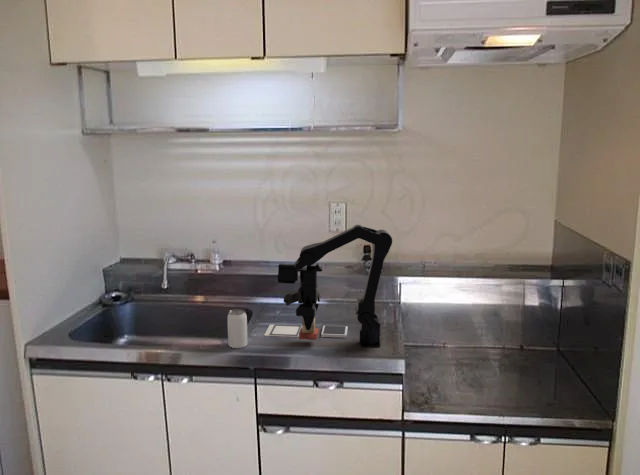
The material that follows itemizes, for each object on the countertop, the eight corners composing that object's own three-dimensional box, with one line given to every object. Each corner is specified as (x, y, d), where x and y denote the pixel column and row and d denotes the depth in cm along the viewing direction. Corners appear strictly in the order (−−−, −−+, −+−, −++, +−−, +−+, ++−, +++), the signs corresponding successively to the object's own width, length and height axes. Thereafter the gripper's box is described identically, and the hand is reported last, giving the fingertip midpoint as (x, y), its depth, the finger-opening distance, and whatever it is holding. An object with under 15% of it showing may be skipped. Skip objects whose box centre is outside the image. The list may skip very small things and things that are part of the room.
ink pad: (347, 328, 191) (347, 325, 191) (346, 337, 182) (346, 334, 182) (323, 328, 192) (323, 324, 191) (321, 336, 183) (321, 333, 183)
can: (249, 342, 178) (248, 309, 176) (245, 349, 172) (244, 315, 170) (231, 341, 179) (230, 308, 177) (226, 348, 172) (224, 314, 170)
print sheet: (306, 326, 193) (306, 325, 193) (302, 337, 183) (302, 335, 182) (269, 325, 195) (269, 324, 195) (263, 335, 184) (263, 334, 184)
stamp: (318, 333, 179) (318, 308, 177) (316, 339, 173) (316, 313, 172) (301, 332, 180) (301, 307, 178) (298, 339, 174) (298, 313, 172)
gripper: (289, 276, 183) (289, 318, 186) (280, 290, 165) (280, 337, 168) (320, 276, 182) (320, 319, 185) (314, 291, 164) (314, 338, 166)
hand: (308, 327), depth 176 cm, fingers closed on stamp, 4 cm apart
